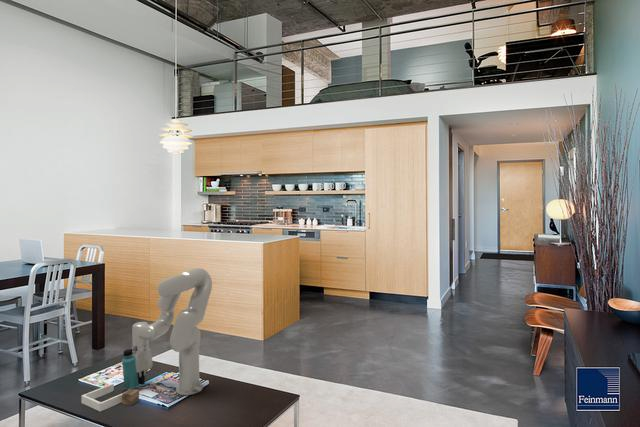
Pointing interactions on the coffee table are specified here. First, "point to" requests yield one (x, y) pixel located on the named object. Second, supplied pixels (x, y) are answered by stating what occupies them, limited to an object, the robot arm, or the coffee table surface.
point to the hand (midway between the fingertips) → (141, 383)
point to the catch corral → (89, 397)
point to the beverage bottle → (129, 370)
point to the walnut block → (130, 397)
